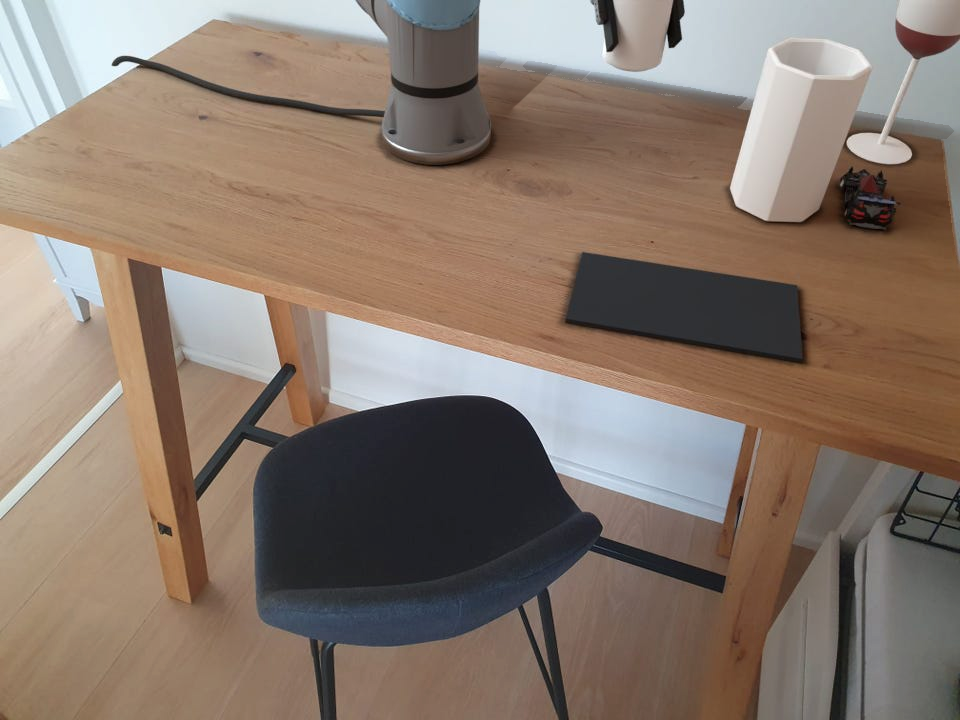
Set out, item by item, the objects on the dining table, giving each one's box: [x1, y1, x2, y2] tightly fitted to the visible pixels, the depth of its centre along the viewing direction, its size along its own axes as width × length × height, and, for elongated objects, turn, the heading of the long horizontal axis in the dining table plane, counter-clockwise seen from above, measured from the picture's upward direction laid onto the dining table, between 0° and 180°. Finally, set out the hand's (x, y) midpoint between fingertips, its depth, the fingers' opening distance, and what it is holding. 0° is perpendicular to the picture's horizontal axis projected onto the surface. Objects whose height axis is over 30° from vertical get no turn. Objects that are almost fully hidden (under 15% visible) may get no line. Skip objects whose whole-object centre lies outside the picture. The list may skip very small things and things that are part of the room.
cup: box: [729, 37, 873, 223], centre depth 91 cm, size 11×11×18 cm
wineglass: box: [846, 0, 960, 165], centre depth 99 cm, size 9×10×23 cm
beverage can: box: [602, 0, 673, 73], centre depth 102 cm, size 8×8×12 cm
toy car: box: [839, 165, 902, 231], centre depth 96 cm, size 6×12×4 cm, turn 166°
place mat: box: [564, 251, 804, 364], centre depth 83 cm, size 24×12×1 cm, turn 76°
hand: (644, 45), depth 101 cm, fingers closed on beverage can, 8 cm apart
